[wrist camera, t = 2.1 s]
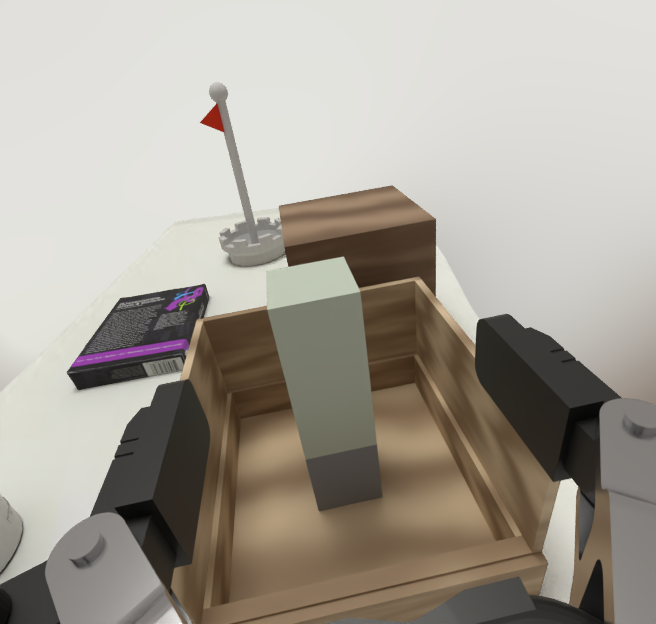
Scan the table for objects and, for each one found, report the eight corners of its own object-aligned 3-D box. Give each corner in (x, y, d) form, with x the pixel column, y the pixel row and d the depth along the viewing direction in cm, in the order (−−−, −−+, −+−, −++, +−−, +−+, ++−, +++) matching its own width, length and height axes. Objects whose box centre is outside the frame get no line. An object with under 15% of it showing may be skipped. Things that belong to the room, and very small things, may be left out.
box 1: (190, 375, 49) (212, 299, 66) (181, 353, 47) (206, 280, 64) (78, 394, 48) (128, 312, 65) (64, 373, 47) (119, 294, 63)
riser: (435, 357, 44) (435, 219, 36) (312, 382, 43) (284, 247, 35) (398, 299, 56) (392, 185, 48) (301, 317, 55) (278, 205, 47)
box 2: (382, 497, 30) (360, 291, 21) (318, 511, 30) (267, 309, 21) (367, 445, 34) (343, 256, 25) (311, 457, 34) (266, 271, 25)
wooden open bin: (538, 595, 24) (575, 468, 18) (209, 675, 23) (127, 568, 17) (421, 378, 41) (419, 276, 35) (232, 417, 40) (197, 319, 34)
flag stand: (257, 239, 87) (219, 82, 71) (303, 245, 79) (272, 73, 64) (212, 263, 78) (158, 91, 63) (259, 272, 71) (210, 81, 55)
